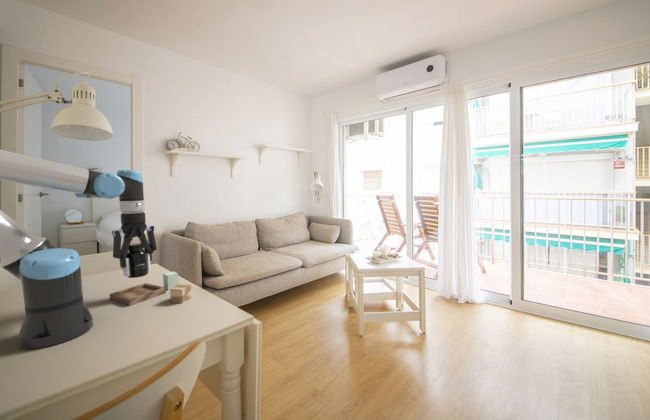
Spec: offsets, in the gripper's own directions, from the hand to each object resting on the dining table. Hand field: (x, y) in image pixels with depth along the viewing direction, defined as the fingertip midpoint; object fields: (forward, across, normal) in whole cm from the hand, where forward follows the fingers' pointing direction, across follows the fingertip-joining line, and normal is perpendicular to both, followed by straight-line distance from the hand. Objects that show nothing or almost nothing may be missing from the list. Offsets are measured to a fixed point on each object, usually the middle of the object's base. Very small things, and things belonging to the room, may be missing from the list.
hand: (137, 272), depth 104 cm
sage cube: (+9, +11, -3) cm, 15 cm away
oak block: (+9, +5, -18) cm, 21 cm away
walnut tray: (+9, 0, 0) cm, 9 cm away
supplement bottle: (+1, 0, 0) cm, 1 cm away
